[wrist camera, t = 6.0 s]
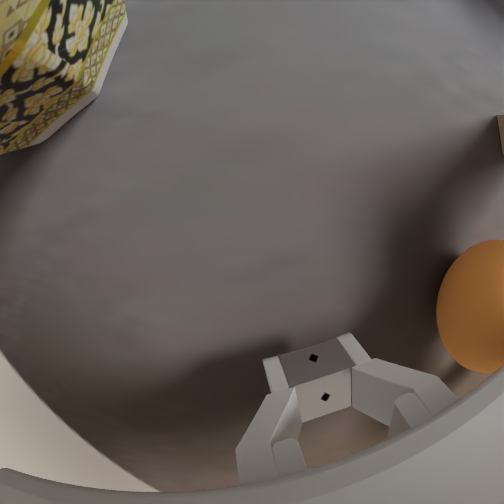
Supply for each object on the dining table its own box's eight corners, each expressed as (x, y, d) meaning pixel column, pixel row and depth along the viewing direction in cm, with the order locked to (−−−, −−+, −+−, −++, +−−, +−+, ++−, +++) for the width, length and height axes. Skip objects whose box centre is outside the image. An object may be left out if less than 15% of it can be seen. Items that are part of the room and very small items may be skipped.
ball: (551, 234, 7) (456, 222, 11) (566, 275, 4) (422, 253, 8) (530, 340, 8) (448, 321, 13) (517, 413, 5) (408, 379, 10)
